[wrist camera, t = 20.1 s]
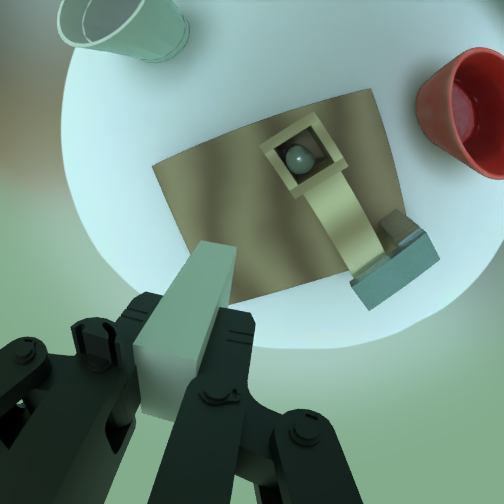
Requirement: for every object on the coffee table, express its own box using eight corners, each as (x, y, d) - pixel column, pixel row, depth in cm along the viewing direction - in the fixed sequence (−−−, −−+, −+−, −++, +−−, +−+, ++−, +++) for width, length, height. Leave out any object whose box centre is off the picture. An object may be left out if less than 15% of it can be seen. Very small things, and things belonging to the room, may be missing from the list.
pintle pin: (302, 140, 26) (308, 143, 20) (309, 160, 27) (317, 169, 21) (281, 147, 27) (282, 151, 21) (289, 167, 27) (291, 177, 21)
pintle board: (367, 89, 25) (370, 88, 24) (408, 246, 30) (411, 249, 29) (155, 164, 29) (151, 166, 28) (218, 303, 35) (216, 308, 34)
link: (384, 244, 29) (400, 265, 25) (343, 268, 31) (352, 292, 26) (307, 114, 25) (313, 111, 21) (262, 143, 27) (258, 146, 22)
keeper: (336, 252, 30) (350, 285, 24) (396, 208, 28) (425, 230, 21) (353, 274, 31) (368, 310, 25) (410, 232, 29) (440, 259, 22)
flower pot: (385, 131, 26) (429, 134, 17) (420, 45, 22) (467, 21, 13) (461, 180, 27) (514, 203, 18) (491, 100, 22) (547, 101, 13)
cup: (187, 72, 25) (133, 44, 14) (118, 69, 25) (46, 52, 14) (205, 4, 22) (165, -51, 11) (136, 5, 22) (75, -34, 11)
